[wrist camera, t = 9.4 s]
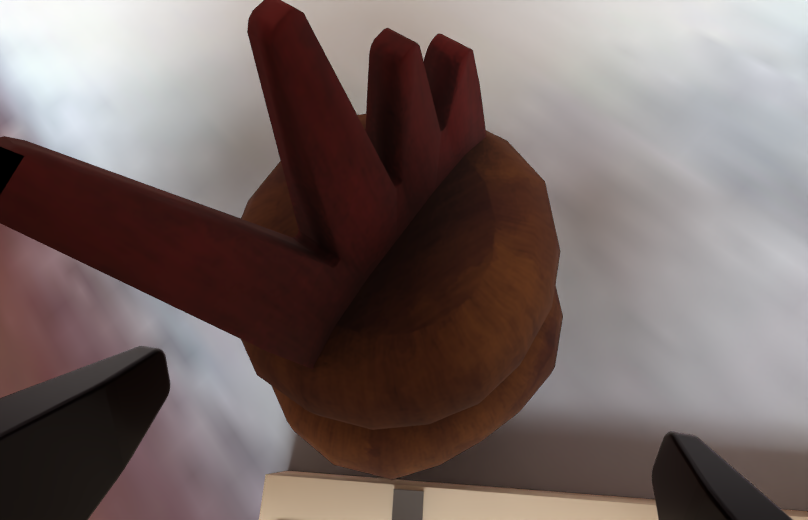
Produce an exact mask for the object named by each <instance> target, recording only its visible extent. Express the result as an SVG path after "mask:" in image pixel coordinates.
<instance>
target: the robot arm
mask: <svg viewBox="0 0 808 520" xmlns="http://www.w3.org/2000/svg"><path fill="white" fill-rule="evenodd" d="M169 391H170V379H169V373H168V367H167V361H166V356H165V353H164V352H163V350H161V349H159V348H153V347H147V346H139V347H136V348H133V349H131V350H128V351H125V352H123V353H120V354H117V355H115V356H112V357H109V358H107V359H104V360H101V361H99V362H96V363H93V364H91V365H88V366H85V367H83V368H80V369H77V370H75V371H72V372H69V373H67V374H64V375H61V376H59V377H56V378H53V379H50V380H48V381H45V382H42V383H40V384H37V385H34V386H32V387H29V388H26V389H24V390H21V391H18V392H16V393H13V394H10V395H8V396H5V397H2V398H0V520H88V519H89V517H90V516H91V514H92V513H93V512H94V510H95V509H96V508H97V506H98V505H99V503H100V502H101V501H102V499H103V498H104V497H105V495H106V494H107V492H108V491H109V490H110V488H111V487H112V486H113V484H114V483H115V481H116V480H117V479H118V477H119V476H120V474H121V473H122V471H123V470H124V469H125V467H126V465H127V464H128V462H129V461H130V459H131V457H132V456H133V454H134V452H135V451H136V449H137V447H138V446H139V444H140V442H141V441H142V439H143V437H144V436H145V434H146V432H147V431H148V429H149V427H150V425H151V424H152V422H153V420H154V419H155V417H156V415H157V414H158V412H159V410H160V409H161V407H162V405H163V404H164V402H165V400H166V398H167V396H168V394H169ZM652 484H653V490H654V496H655V502H656V507H657V513H658V519H659V520H793V519H792V518H791V517H789V516H788V515H787V514H786V513H785V512H784V511H782V510H781V509H780V508H779V507H778V506H777V505H775V504H774V503H773V502H772V501H771V500H770V499H769V498H767V497H766V496H765V495H764V494H763V493H762V492H760V491H759V490H758V489H757V488H756V487H755V486H753V485H752V484H751V483H750V482H749V481H748V480H747V479H745V478H744V477H743V476H742V475H741V474H740V473H738V472H737V471H736V470H735V469H734V468H733V467H731V466H730V465H729V464H728V463H727V462H726V461H725V460H723V459H722V458H721V457H720V456H719V455H718V454H716V453H715V452H714V451H713V450H712V449H711V448H709V447H708V446H707V445H706V444H705V443H704V442H703V441H701V440H700V439H699V438H698V437H696V436H694V435H691V434H685V433H679V432H668V433H667V434H666V435H665V436H664V438H663V441H662V444H661V446H660V449H659V452H658V455H657V457H656V460H655V463H654V466H653V470H652Z"/></svg>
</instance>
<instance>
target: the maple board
mask: <svg viewBox="0 0 808 520" xmlns="http://www.w3.org/2000/svg"><path fill="white" fill-rule="evenodd" d="M781 510H782V511H784V512H785V513H786V514H787V515H788V516H789V517H791V518H792V519H793V520H808V511H797V510H784V509H781ZM259 520H659V519H658V513H657V507H656V502H655V499H643V498H630V497H618V496H605V495H592V494H579V493H566V492H553V491H541V490H528V489H515V488H502V487H489V486H476V485H464V484H451V483H438V482H425V481H412V480H399V479H393V480H390V479H386V478H374V477H361V476H348V475H335V474H322V473H310V472H297V471H283V472H277V473H271V474H266V476H265V483H264V489H263V496H262V503H261V509H260V516H259Z"/></svg>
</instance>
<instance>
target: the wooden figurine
mask: <svg viewBox="0 0 808 520" xmlns="http://www.w3.org/2000/svg"><path fill="white" fill-rule="evenodd" d="M247 32H248V36H249V40H250V44H251V48H252V51H253V55H254V59H255V63H256V67H257V71H258V75H259V79H260V82H261V86H262V90H263V94H264V98H265V102H266V106H267V109H268V113H269V117H270V121H271V125H272V129H273V133H274V137H275V140H276V144H277V148H278V152H279V156H280V160H281V161H280V162H279V164H278V165H277V166H276V167H275V169H274V170H273V171H272V172H271V173H270V175H269V176H268V177H267V178H266V180H265V181H264V182H263V183H262V185H261V186H260V187H259V188H258V189H257V191H256V192H255V193H254V194H253V196H252V197H251V198H250V199H249V201H248V203H247V205H246V208H245V210H244V213H243V215H242V218H241V219H240V218H237V217H235V216H232V215H229V214H226V213H224V212H221V211H218V210H215V209H212V208H210V207H207V206H204V205H201V204H199V203H196V202H193V201H190V200H188V199H185V198H182V197H179V196H177V195H174V194H171V193H168V192H166V191H163V190H160V189H157V188H155V187H152V186H149V185H146V184H144V183H141V182H138V181H135V180H133V179H130V178H127V177H124V176H122V175H119V174H116V173H113V172H111V171H108V170H105V169H102V168H100V167H97V166H94V165H91V164H89V163H86V162H83V161H80V160H77V159H75V158H72V157H69V156H66V155H64V154H61V153H58V152H55V151H53V150H50V149H47V148H44V147H42V146H39V145H36V144H33V143H31V142H28V141H25V140H20V139H15V138H10V137H5V136H4V137H0V223H1V224H3V225H5V226H7V227H9V228H11V229H13V230H16V231H18V232H20V233H22V234H24V235H26V236H28V237H30V238H32V239H34V240H36V241H38V242H41V243H43V244H45V245H47V246H49V247H51V248H53V249H55V250H57V251H59V252H61V253H63V254H65V255H68V256H70V257H72V258H74V259H76V260H78V261H80V262H82V263H84V264H86V265H88V266H90V267H93V268H95V269H97V270H99V271H101V272H103V273H105V274H107V275H109V276H111V277H113V278H115V279H117V280H120V281H122V282H124V283H126V284H128V285H130V286H132V287H134V288H136V289H138V290H140V291H142V292H144V293H147V294H149V295H151V296H153V297H155V298H157V299H159V300H161V301H163V302H165V303H167V304H169V305H172V306H174V307H176V308H178V309H180V310H182V311H184V312H186V313H188V314H190V315H192V316H194V317H196V318H199V319H201V320H203V321H205V322H207V323H209V324H211V325H213V326H215V327H217V328H219V329H221V330H224V331H226V332H228V333H230V334H232V335H234V336H236V337H238V338H240V339H241V340H242V342H243V345H244V347H245V349H246V351H247V354H248V356H249V358H250V360H251V363H252V365H253V367H254V369H255V371H256V374H257V375H258V376H259V377H261V378H262V379H263V380H265V381H266V382H268V383H269V384H270V385H272V388H273V390H274V392H275V394H276V397H277V399H278V401H279V404H280V406H281V408H282V410H283V413H284V415H285V417H286V419H287V422H288V423H289V425H290V426H291V428H292V429H293V430H294V431H295V432H296V433H297V434H298V435H299V436H301V437H302V438H303V439H304V440H305V441H307V442H308V443H309V444H310V445H311V446H312V447H314V448H315V449H316V450H317V451H318V452H319V453H321V454H322V455H323V456H324V457H325V458H326V459H328V460H329V461H330V462H331V463H332V464H334V465H337V466H341V467H345V468H349V469H353V470H357V471H361V472H365V473H369V474H373V475H376V476H380V477H383V478H386V479H390V480H393V479H396V478H399V477H402V476H406V475H409V474H412V473H415V472H419V471H422V470H425V469H428V468H432V467H435V466H438V465H441V464H443V463H444V462H446V461H448V460H450V459H451V458H453V457H455V456H456V455H458V454H460V453H462V452H463V451H465V450H467V449H469V448H470V447H472V446H474V445H476V444H477V443H479V442H481V441H483V440H484V439H485V438H486V437H488V436H489V435H490V434H492V433H493V432H494V431H495V430H497V429H498V428H499V427H501V426H502V425H503V424H504V423H506V422H507V421H508V420H510V419H511V418H512V417H513V416H515V415H516V414H517V413H519V412H520V411H521V409H522V408H523V407H524V406H525V405H526V403H527V402H528V401H529V400H530V399H531V397H532V396H533V395H534V394H535V392H536V391H537V390H538V389H539V388H540V386H541V385H542V384H543V383H544V381H545V380H546V379H547V378H548V377H549V375H550V374H551V372H552V371H553V369H554V367H555V363H556V356H557V350H558V343H559V337H560V331H561V324H562V318H563V315H562V311H561V306H560V302H559V298H558V294H557V290H556V286H555V283H556V277H557V270H558V263H559V257H560V248H559V243H558V239H557V234H556V230H555V225H554V221H553V216H552V212H551V207H550V203H549V198H548V194H547V189H546V185H545V181H544V180H543V179H542V178H541V177H540V176H539V175H538V174H537V172H536V171H535V170H534V169H533V168H532V167H531V166H530V165H529V164H528V163H527V162H526V161H525V160H524V158H523V157H522V156H521V155H520V154H519V153H518V152H517V151H516V150H515V149H514V148H513V147H512V146H511V145H510V143H509V142H508V141H506V140H504V139H502V138H500V137H498V136H496V135H494V134H492V133H490V132H488V131H486V130H485V122H484V114H483V107H482V99H481V91H480V84H479V79H478V74H477V69H476V64H475V59H474V54H473V50H472V49H470V48H468V47H466V46H464V45H462V44H460V43H458V42H456V41H454V40H452V39H450V38H448V37H446V36H444V35H442V34H438V35H436V36H435V37H434V38H433V40H432V41H431V43H430V45H429V47H428V49H427V52H426V55H425V59H424V62H423V58H422V54H421V50H420V46H419V45H418V44H417V43H416V42H414V41H412V40H410V39H408V38H406V37H404V36H402V35H400V34H398V33H397V32H395V31H393V30H391V29H389V28H386V29H384V30H383V31H382V32H381V33H380V34H379V35H378V36H377V37H376V38H375V39H374V41H373V43H372V45H371V49H370V54H369V72H368V91H367V110H366V114H362V115H357V114H356V112H355V110H354V108H353V106H352V104H351V102H350V101H349V99H348V97H347V95H346V93H345V91H344V89H343V87H342V85H341V83H340V82H339V80H338V78H337V76H336V74H335V72H334V70H333V68H332V66H331V64H330V62H329V61H328V59H327V57H326V55H325V53H324V51H323V49H322V47H321V45H320V43H319V41H318V40H317V38H316V36H315V34H314V32H313V30H312V28H311V26H310V24H309V22H308V20H307V19H306V17H305V15H304V13H303V12H301V11H299V10H298V9H296V8H294V7H292V6H290V5H289V4H287V3H285V2H283V1H281V0H264V1H263V2H262V3H261V4H259V5H258V6H257V7H256V8H255V9H254V10H253V11H252V13H251V15H250V17H249V20H248V31H247Z"/></svg>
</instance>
